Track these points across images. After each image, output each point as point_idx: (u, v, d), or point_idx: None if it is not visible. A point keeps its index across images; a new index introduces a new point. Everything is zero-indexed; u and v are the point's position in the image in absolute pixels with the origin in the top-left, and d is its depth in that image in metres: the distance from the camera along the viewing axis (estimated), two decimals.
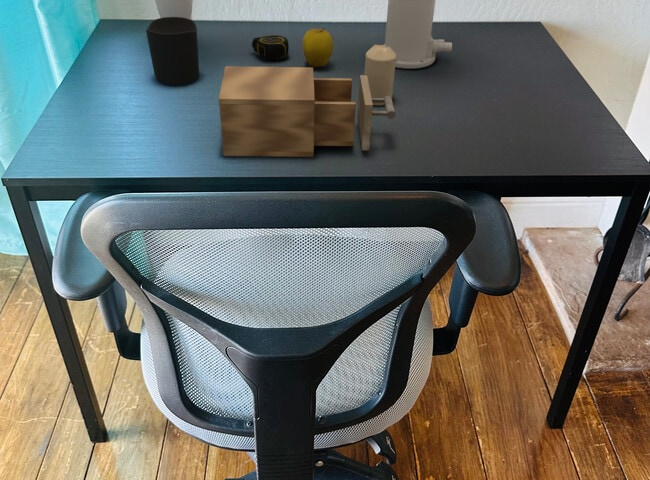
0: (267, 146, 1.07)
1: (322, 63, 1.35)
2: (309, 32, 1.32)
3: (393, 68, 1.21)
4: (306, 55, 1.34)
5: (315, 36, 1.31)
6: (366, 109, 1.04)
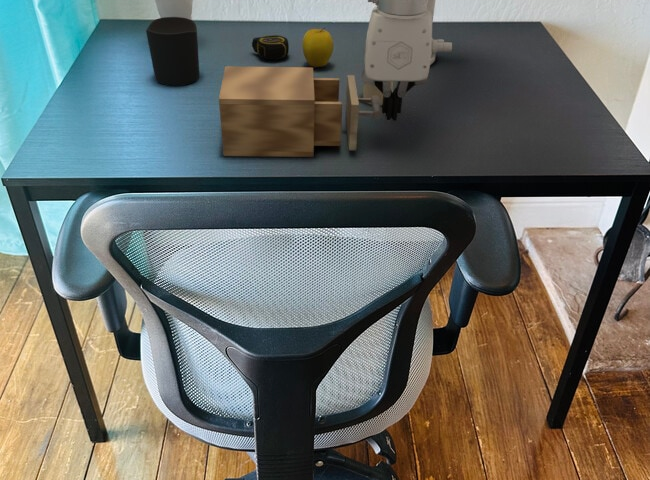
0: (267, 146, 1.07)
1: (322, 63, 1.35)
2: (309, 32, 1.32)
3: None
4: (306, 55, 1.34)
5: (315, 36, 1.31)
6: (352, 109, 1.04)
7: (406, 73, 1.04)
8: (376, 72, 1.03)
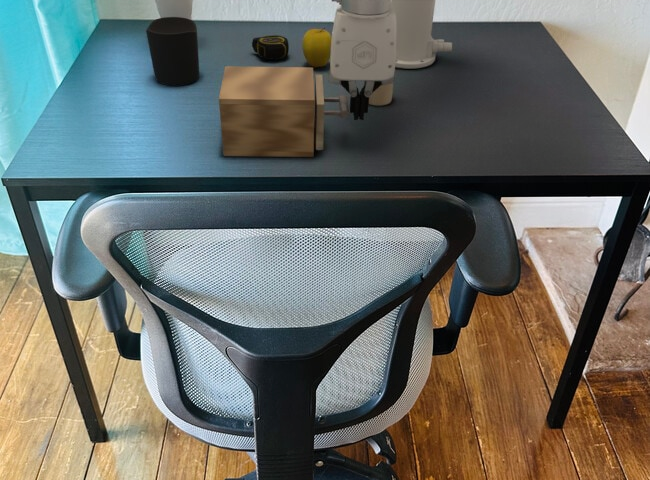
0: (267, 146, 1.07)
1: (322, 63, 1.35)
2: (309, 32, 1.32)
3: None
4: (306, 55, 1.34)
5: (315, 36, 1.31)
6: (318, 108, 1.04)
7: (372, 73, 1.03)
8: (341, 71, 1.03)
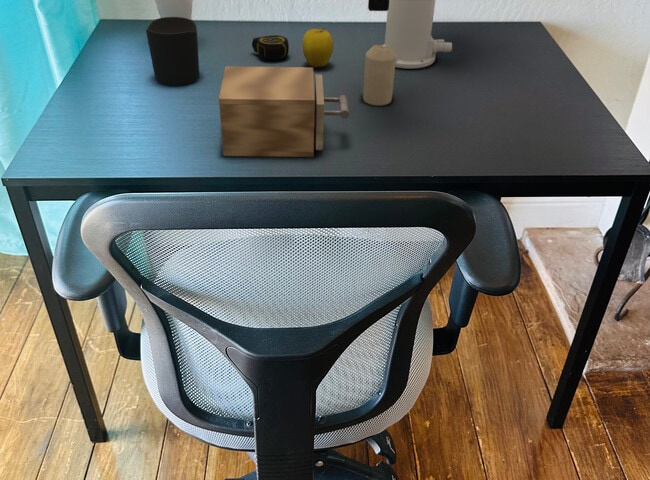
0: (267, 146, 1.07)
1: (322, 63, 1.35)
2: (309, 32, 1.32)
3: (393, 68, 1.21)
4: (306, 55, 1.34)
5: (315, 36, 1.31)
6: (318, 108, 1.04)
7: None
8: None
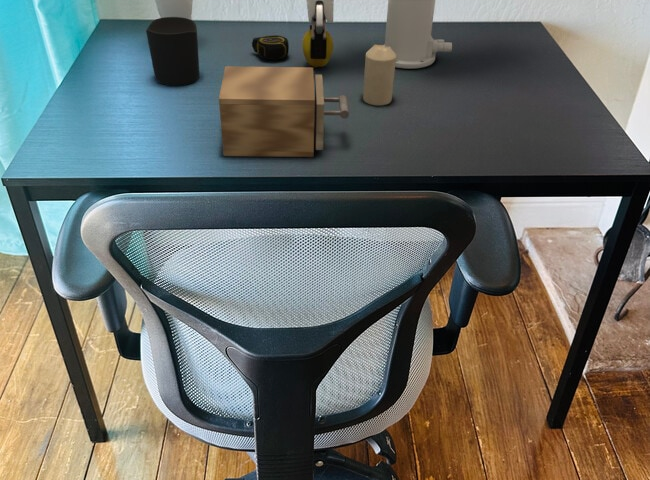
0: (267, 146, 1.07)
1: (322, 63, 1.35)
2: (309, 32, 1.32)
3: (393, 68, 1.21)
4: (306, 55, 1.34)
5: None
6: (318, 108, 1.04)
7: None
8: None
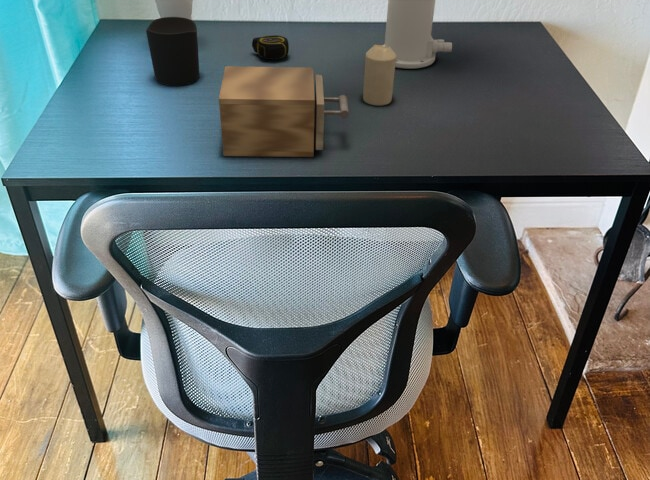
0: (267, 146, 1.07)
1: None
2: None
3: (393, 68, 1.21)
4: None
5: None
6: (318, 108, 1.04)
7: None
8: None
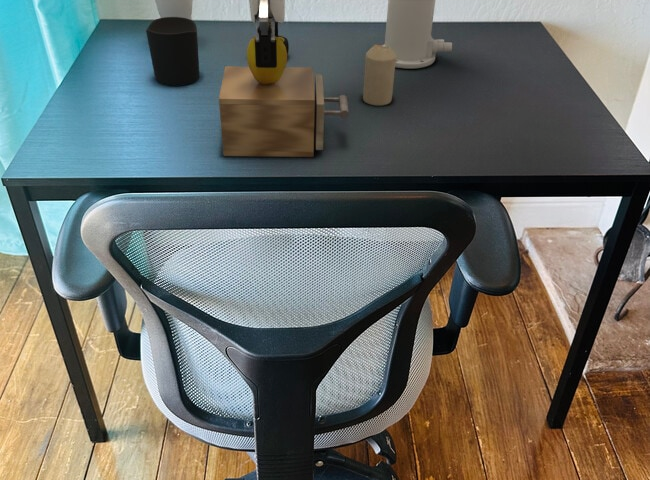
0: (267, 146, 1.07)
1: (273, 79, 1.04)
2: None
3: (393, 68, 1.21)
4: (252, 69, 1.03)
5: None
6: (318, 108, 1.04)
7: None
8: None
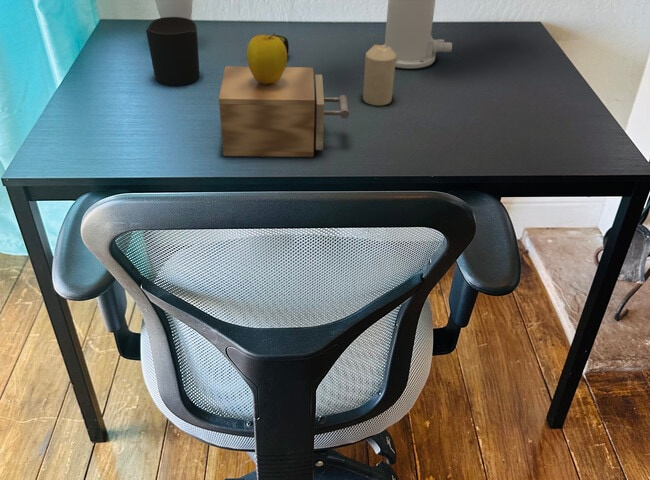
0: (267, 146, 1.07)
1: (273, 79, 1.04)
2: (255, 39, 1.02)
3: (393, 68, 1.21)
4: (252, 69, 1.03)
5: (261, 45, 1.01)
6: (318, 108, 1.04)
7: None
8: None
